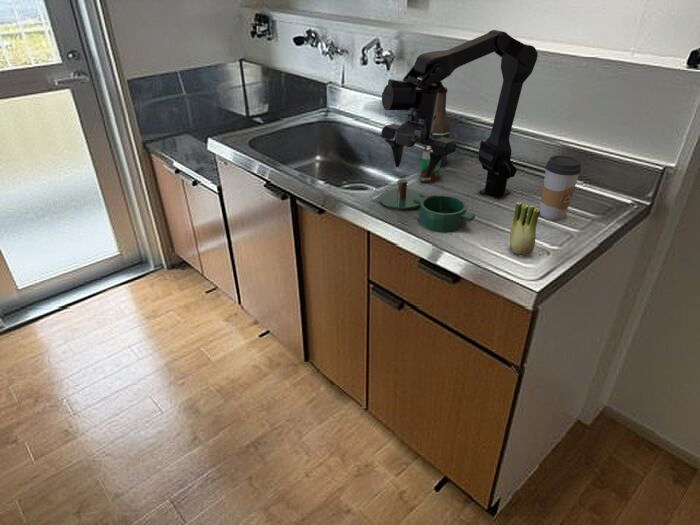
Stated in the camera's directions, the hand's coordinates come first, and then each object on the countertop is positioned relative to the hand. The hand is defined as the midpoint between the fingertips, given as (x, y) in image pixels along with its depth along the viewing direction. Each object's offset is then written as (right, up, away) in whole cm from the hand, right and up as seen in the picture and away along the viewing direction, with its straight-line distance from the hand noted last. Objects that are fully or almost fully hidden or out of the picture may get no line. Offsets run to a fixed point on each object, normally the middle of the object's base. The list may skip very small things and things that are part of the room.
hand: (412, 171), depth 127 cm
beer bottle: (+12, +9, +35) cm, 38 cm away
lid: (-2, -6, +9) cm, 11 cm away
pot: (+7, -13, -1) cm, 15 cm away
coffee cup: (+37, -11, +2) cm, 39 cm away
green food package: (+9, +2, +24) cm, 26 cm away
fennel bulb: (+23, -21, -14) cm, 34 cm away
